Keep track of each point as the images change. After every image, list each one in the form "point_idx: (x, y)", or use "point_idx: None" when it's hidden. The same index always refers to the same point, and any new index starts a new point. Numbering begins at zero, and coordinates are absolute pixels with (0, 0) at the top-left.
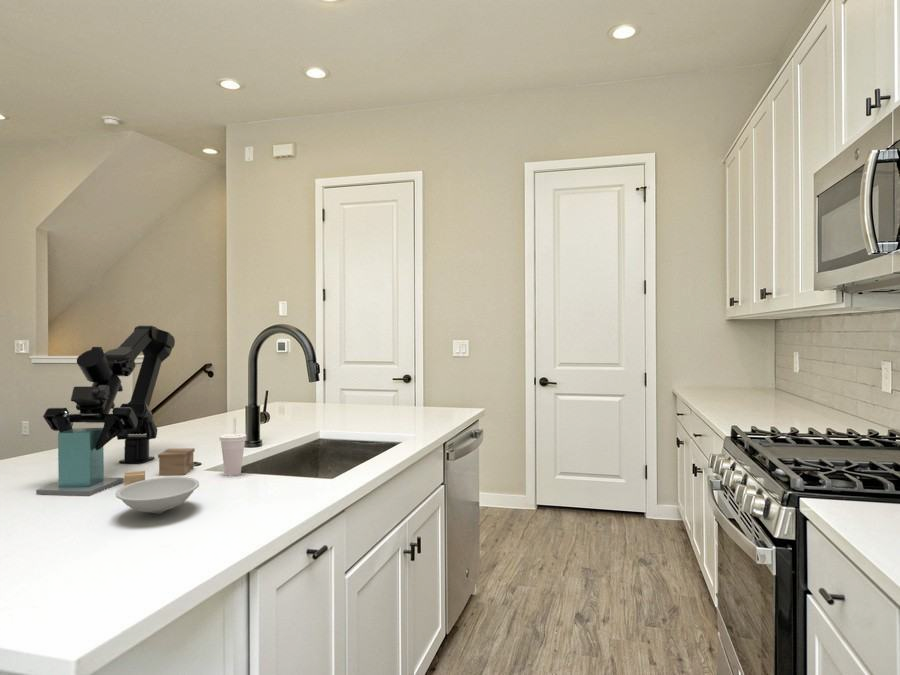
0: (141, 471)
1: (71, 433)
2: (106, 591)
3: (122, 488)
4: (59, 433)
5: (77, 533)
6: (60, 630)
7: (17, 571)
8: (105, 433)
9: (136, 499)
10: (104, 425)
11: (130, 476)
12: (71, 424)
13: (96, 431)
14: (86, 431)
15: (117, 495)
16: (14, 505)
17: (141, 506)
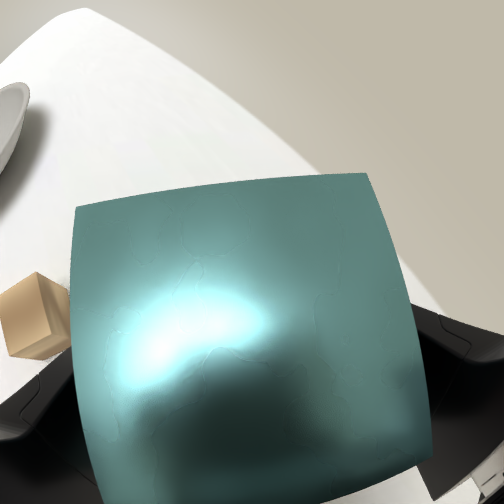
0: (13, 341)
1: (247, 183)
2: (48, 36)
3: (18, 115)
4: (354, 174)
5: (85, 78)
6: (66, 17)
7: (112, 27)
8: (33, 378)
9: (7, 86)
10: (16, 432)
11: (24, 280)
12: (483, 484)
13: (80, 361)
14: (131, 266)
15: (26, 87)
16: (298, 169)
17: (6, 102)
